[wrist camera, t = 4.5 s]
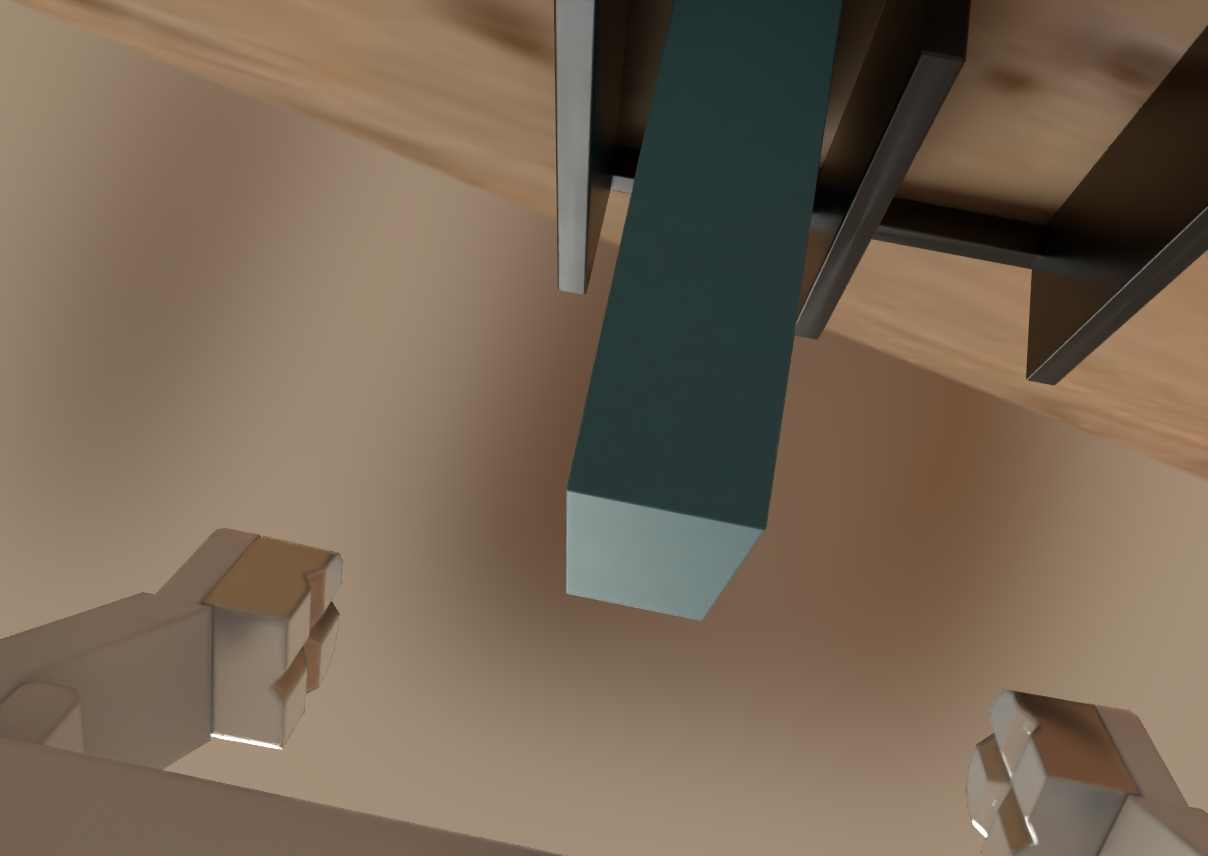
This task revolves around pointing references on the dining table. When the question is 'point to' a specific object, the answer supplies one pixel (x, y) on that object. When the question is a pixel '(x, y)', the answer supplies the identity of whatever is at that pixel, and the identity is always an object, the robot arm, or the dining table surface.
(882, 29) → the rack
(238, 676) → the robot arm
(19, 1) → the dining table surface
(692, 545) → the book
